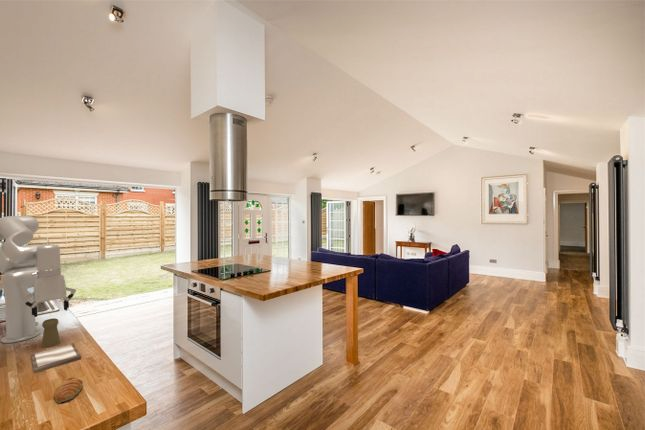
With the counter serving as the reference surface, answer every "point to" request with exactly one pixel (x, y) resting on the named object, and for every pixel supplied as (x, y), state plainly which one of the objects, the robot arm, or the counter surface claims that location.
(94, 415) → the counter surface
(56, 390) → the pastry
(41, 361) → the silver rectangular plate
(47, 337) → the cork
